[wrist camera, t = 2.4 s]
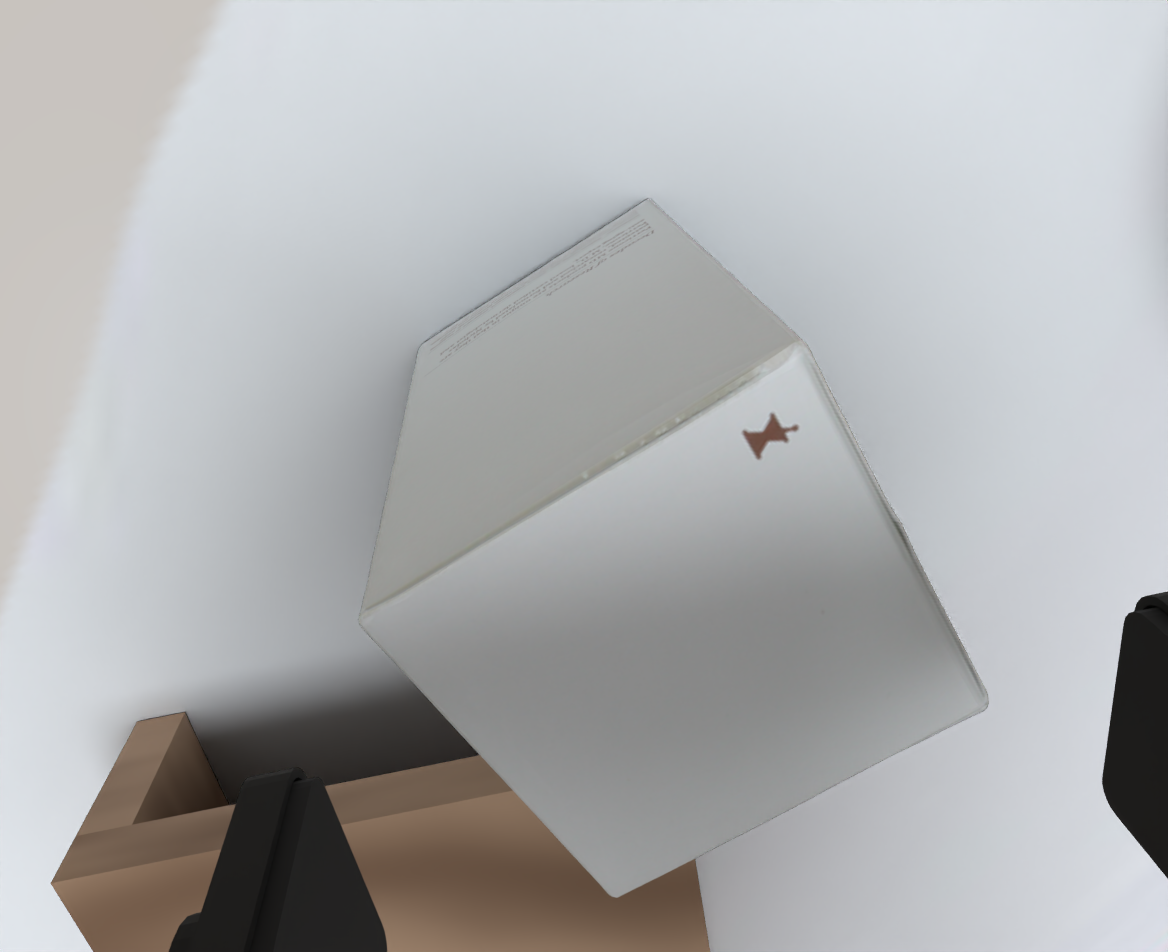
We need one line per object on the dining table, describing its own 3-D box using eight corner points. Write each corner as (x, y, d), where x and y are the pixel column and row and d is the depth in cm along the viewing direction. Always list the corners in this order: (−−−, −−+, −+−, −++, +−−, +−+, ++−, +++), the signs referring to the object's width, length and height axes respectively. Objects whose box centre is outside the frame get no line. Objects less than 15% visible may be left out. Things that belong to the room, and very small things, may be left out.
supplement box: (409, 343, 23) (332, 613, 12) (653, 189, 22) (822, 325, 11) (557, 546, 26) (607, 916, 15) (777, 419, 25) (1011, 713, 14)
